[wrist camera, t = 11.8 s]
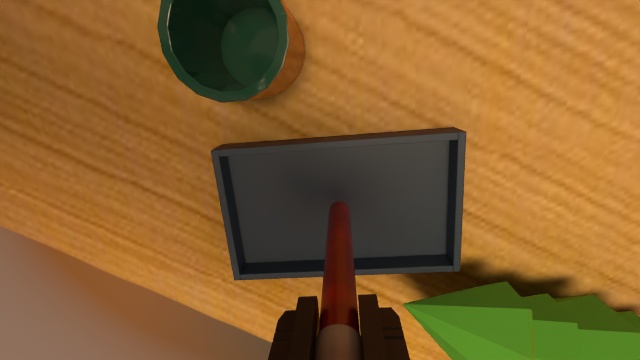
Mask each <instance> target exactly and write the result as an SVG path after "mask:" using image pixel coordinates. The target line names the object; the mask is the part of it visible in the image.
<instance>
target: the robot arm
mask: <svg viewBox="0 0 640 360" xmlns="http://www.w3.org/2000/svg"><path fill="white" fill-rule="evenodd" d="M358 300H359V317H360V333H361V338H362V349H363V360H410V358H409V354H408V350H407V346H406V342H405V339H404V334H403V330H402V326H401V322H400V318H399V316H398V315H397V314H396V312H395V311H394V310H393V309H392V308H391V307H388V308H379V306H378V300H377V295H376V294H368V295H358ZM319 324H320V318H319V308H318V299H317V296H309V297H299V298H298V302H297V307H296V310H291V311H285V312H284V314H283V315H282V316H281V317H280V318H279V320H278V323H277V327H276V332H275V334H274V338H273V342H272V346H271V350H270V354H269V357H268V360H314V351H315V341H316V337H317V335H318V334H319Z"/></svg>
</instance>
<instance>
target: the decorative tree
mask: <svg viewBox="0 0 640 360" xmlns="http://www.w3.org/2000/svg"><path fill="white" fill-rule="evenodd" d="M403 305H404V306H405V308H406V309H407V310H408V311H409V312H410V313H411V314H412V315H413V316H414V318H415V319H416V320H417V321H418V322H419V323H420V324H421V325H422V327H423V328H424V329H425V330H426V331H427V332H428V333H429V334H430V335H431V337H432V338H433V339H434V340H435V341H436V342H437V343H438V344H439V346H440V347H441V348H442V349H443V350H444V351H445V352H446V353H447V354H448V356H449V357H450V358H451V359H452V360H640V317H639V316H638V315H636V314H635V313H634V312H632V311H624V312H615V311H614V310H613V309H611V308H610V307H609V306H608V305H606V304H605V303H604V302H603V301H601V300H600V299H599V298H597V297H596V296H595V295H584V296H573V297H562V298H552V297H551V296H550V295H549V294H548V293H546V294H539V295H532V296H525V297H520V296H519V294H518V293H517V292H516V291H515V290H514V289H513V288H512V287H511V286H510V284H509V283H508V282H507V281H505V282H499V283H494V284H488V285H482V286H477V287H473V288H468V289H464V290H460V291H456V292H451V293H447V294H443V295H438V296H434V297H430V298H426V299H421V300H417V301H413V302H409V303H404V304H403Z"/></svg>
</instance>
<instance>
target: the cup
mask: <svg viewBox="0 0 640 360" xmlns="http://www.w3.org/2000/svg"><path fill="white" fill-rule="evenodd" d="M158 32H159V37H160V42H161V47H162V52H163V54H164V56H165V58H166V60H167V61H168V63H169V65H170V66H171V68H172V70H173V71H174V73H175V75H176V76H177V77H178V79H179V80H180V81H182V82H183V83H184V84H185V85H186V86H188V87H189V88H190V89H191V90H192V91H194V92H195V93H196V94H198V95H200V96H203V97H206V98H209V99H212V100H215V101H218V102H235V101H245V100H251V99H257V98H263V97H269V96H274V95H276V94H278V93H280V92H282V91H284V90H286V89H287V88H288V87H289V86H291V85H292V84H293V82H294V81H295V80H296V79H297V77H298V76H299V74H300V72H301V69H302V67H303V63H304V58H305V44H304V39H303V35H302V32H301V30H300V28H299V26H298V24H297V22H296V20H295V18H294V17H293V15H292V14H291V12H290V11H289V9H288V8H287V6H286V5H285V3H284V2H283V0H161V6H160V13H159V19H158Z"/></svg>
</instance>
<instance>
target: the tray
mask: <svg viewBox="0 0 640 360" xmlns="http://www.w3.org/2000/svg"><path fill="white" fill-rule="evenodd" d="M465 148H466V132H465V131H463V130H460V129H457V128H454V127H453V128H439V129H426V130H412V131H399V132H386V133H372V134H359V135H345V136H332V137H318V138H305V139H291V140H278V141H264V142H251V143H238V144H224V145H221V146H218V147H217V148H215V149H213V150H211V154H212V160H213V165H214V171H215V176H216V182H217V187H218V193H219V198H220V204H221V209H222V215H223V220H224V226H225V231H226V237H227V242H228V248H229V253H230V259H231V264H232V270H233V275H234V280H254V279H279V278H303V277H323V276H324V265H325V253H326V241H327V229H328V217H329V208H330V206H331V205H332V204H333V203H334V202H337V201H342V202H345V203H346V204H347V205H348V206H349V209H350V219H351V232H352V244H353V257H354V269H355V275H378V274H403V273H428V272H452V271H460V259H461V237H462V215H463V192H464V170H465Z"/></svg>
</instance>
